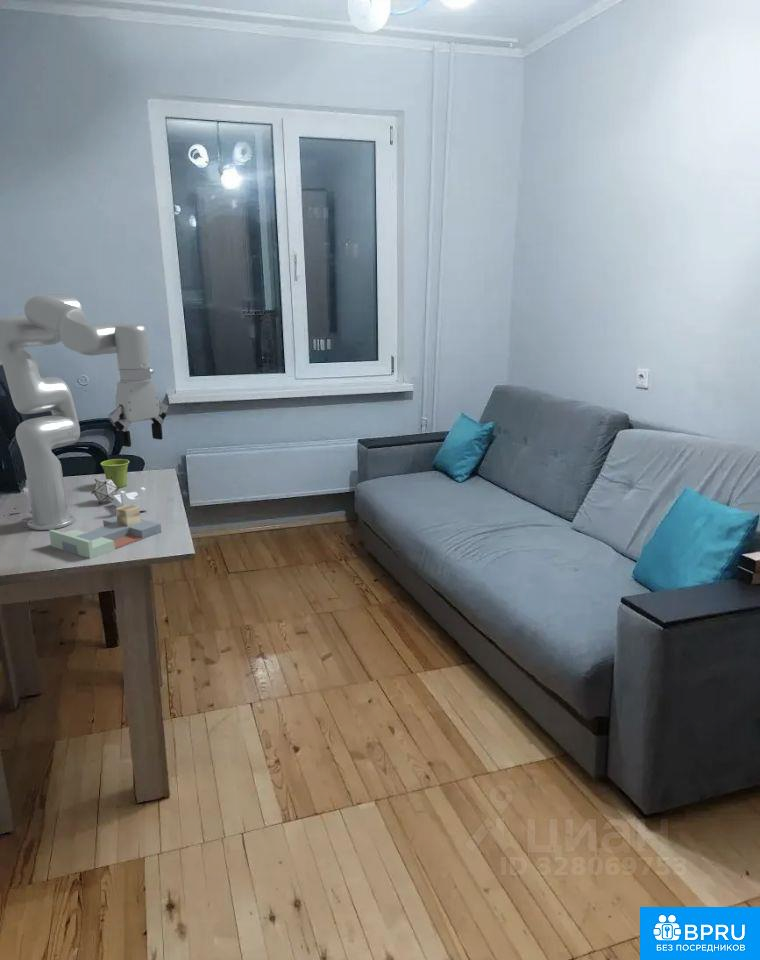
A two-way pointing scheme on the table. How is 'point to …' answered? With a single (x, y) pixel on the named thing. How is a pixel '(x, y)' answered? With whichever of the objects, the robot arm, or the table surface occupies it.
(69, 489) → the table surface
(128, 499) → the bracket
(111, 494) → the game die
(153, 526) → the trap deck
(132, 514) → the maple block
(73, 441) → the robot arm
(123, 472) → the plant pot
